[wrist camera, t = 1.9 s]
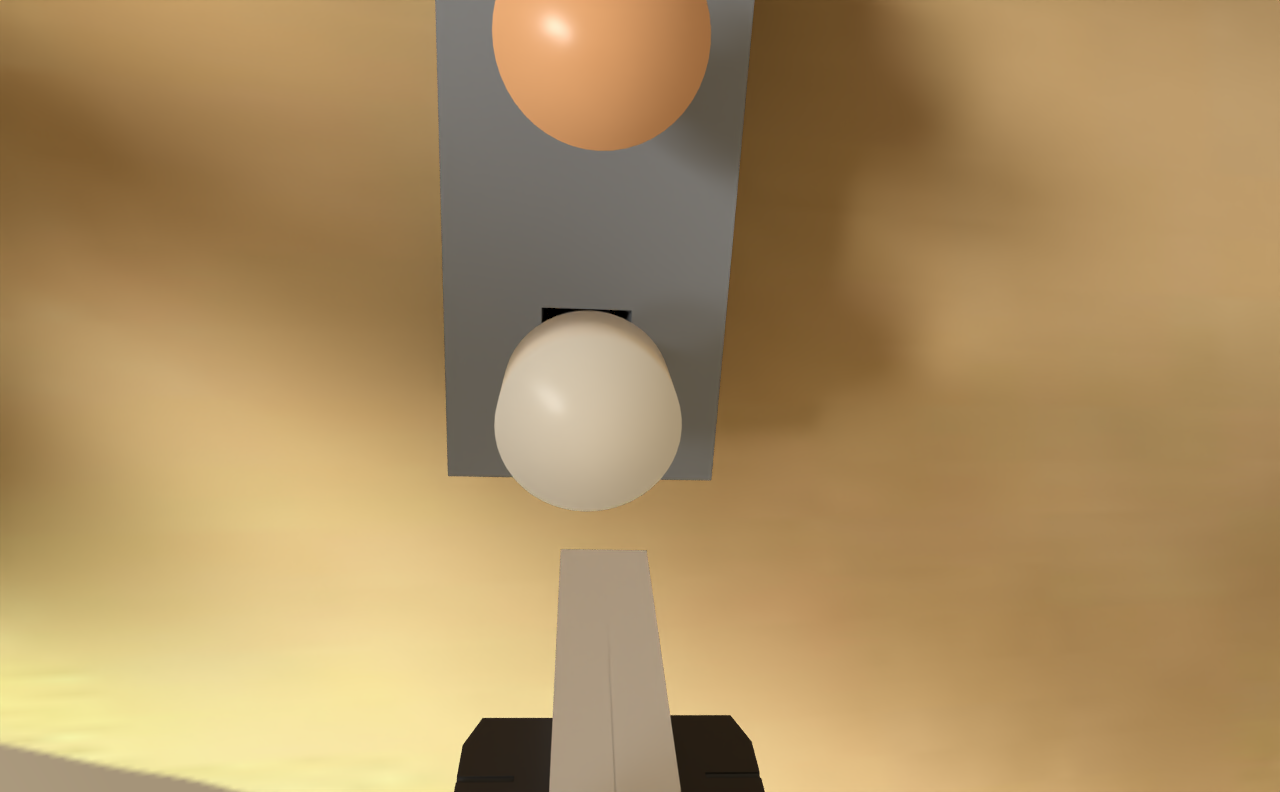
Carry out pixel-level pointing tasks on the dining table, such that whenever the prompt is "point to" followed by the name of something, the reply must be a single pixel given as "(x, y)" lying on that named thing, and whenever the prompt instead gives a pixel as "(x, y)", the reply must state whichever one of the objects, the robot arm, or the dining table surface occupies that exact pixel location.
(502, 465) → the console
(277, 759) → the dining table surface
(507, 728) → the robot arm
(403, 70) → the dining table surface
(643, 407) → the knob
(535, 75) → the knob
